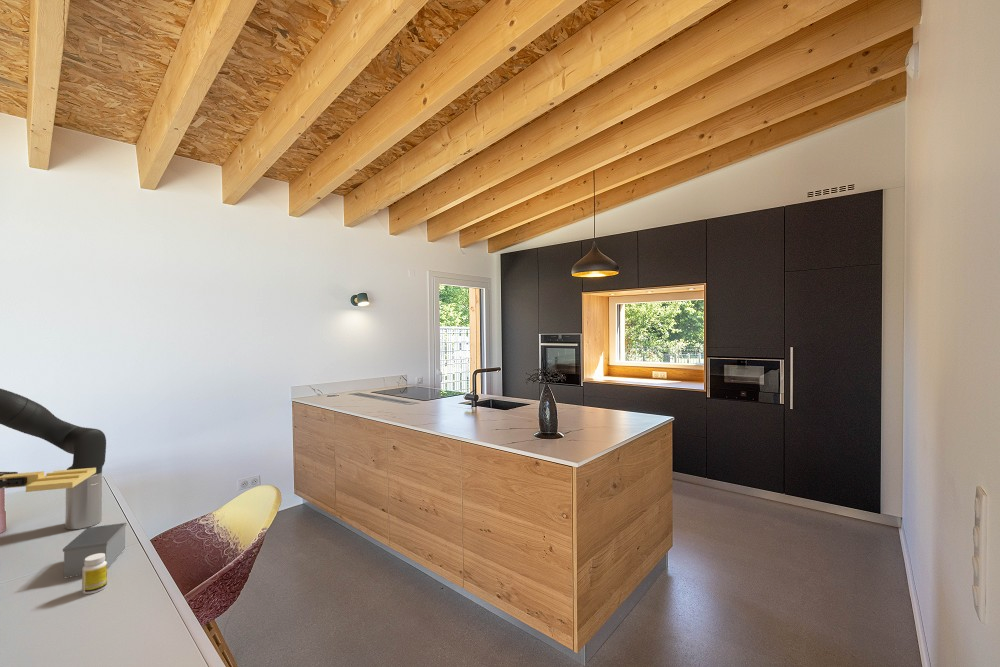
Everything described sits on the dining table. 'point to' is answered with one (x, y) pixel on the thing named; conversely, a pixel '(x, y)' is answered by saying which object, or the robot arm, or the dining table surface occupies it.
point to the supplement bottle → (94, 574)
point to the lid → (53, 479)
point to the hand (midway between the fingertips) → (29, 479)
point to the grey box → (94, 547)
